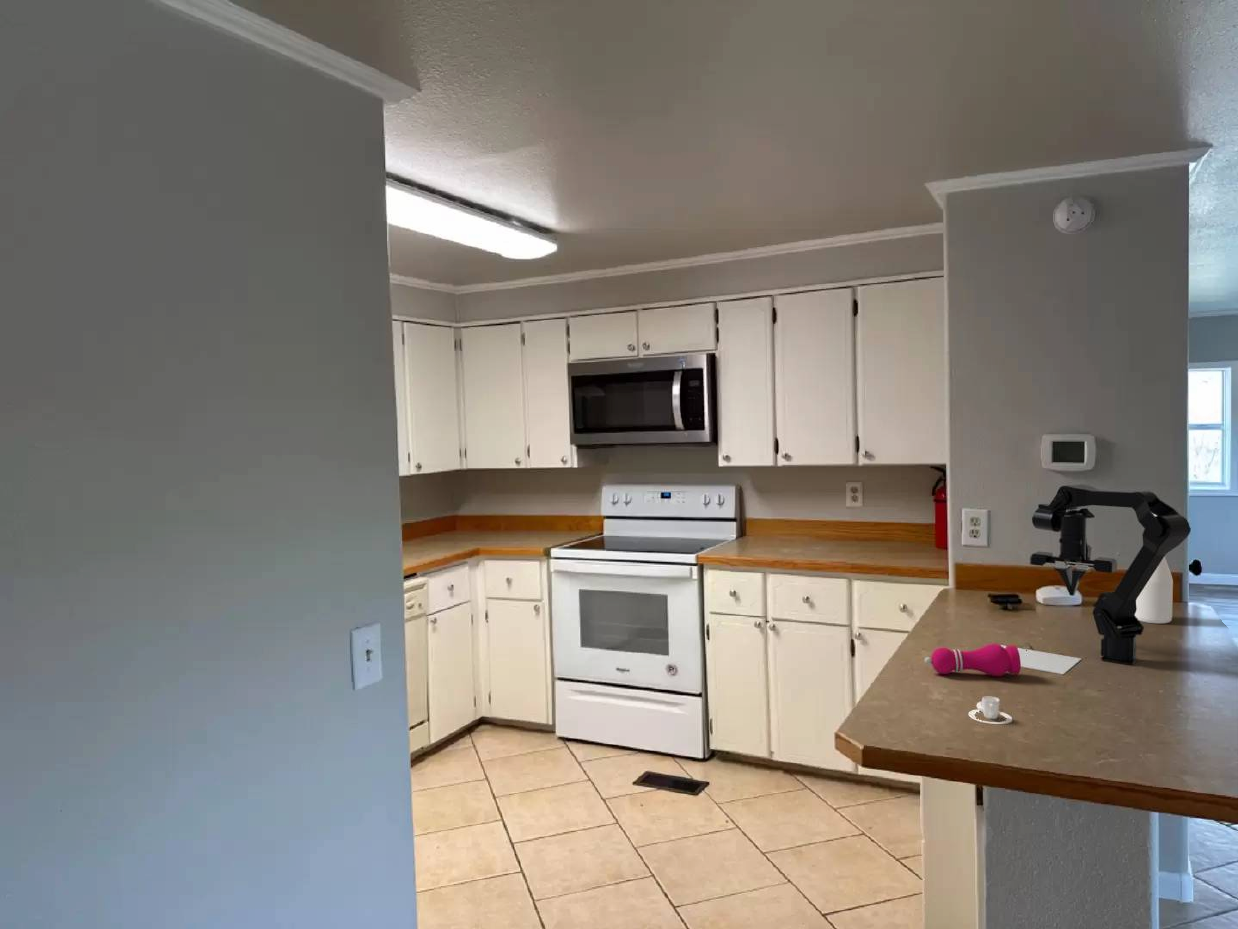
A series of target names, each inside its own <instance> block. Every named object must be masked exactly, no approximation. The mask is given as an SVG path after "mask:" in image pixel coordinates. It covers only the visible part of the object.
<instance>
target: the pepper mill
mask: <svg viewBox="0 0 1238 929" xmlns="http://www.w3.org/2000/svg"><path fill="white" fill-rule="evenodd" d="M1001 645H1002V644H998V643H990V644H987V645H985V646H981V647H980V648H978V649H974V650H967V651H964V650H960V649H959V648H958V649H952V650H950V649H949V648H948V647H942V646H941V647H938V648H935V649H934V650H933V652H932V653H931V657H930V656H927V657H925V658H924V663H925V664H926V665H927V666H928V665H929V666H930V665H932V667H933V670H934V671H936V672H937V673H938V674H941V675H948V674H951V673H952V672H953V671H954V672H956V673H957V672H962V671H964V670H973V671H978V672H980V673H984V674H985V675H990V676H993V677H1002V676H1004V675H1005V674H1006V673H1007V672H1008V673H1009V674H1010V675H1015V674H1016V675H1017V674H1018V675H1019V674H1020V672H1021V668H1022V667H1021V662H1020V655H1019V651H1018V649H1017V648H1018V647H1017V646H1016V645H1005V646H1006V648H1003V647H1002V646H1001Z"/></svg>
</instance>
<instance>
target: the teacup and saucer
mask: <svg viewBox="0 0 1238 929" xmlns="http://www.w3.org/2000/svg"><path fill="white" fill-rule="evenodd" d="M976 708H977V709H973V710H970V711H969V712H968V716H969V717H970V718H971V719H972V720H975V721H977V722H980V723H982V724H983V723H984V724H988V725H989V724H991V725H1006V724H1009V723H1011V722H1012V721H1013V717H1012V716H1011V715H1009V714H1007V713H1006V712H1003V711H1000V699H999V698H998V697H995V696H989V695H988V696H987V695H986V696H982V700H981V701H978V702H977V704H976ZM979 711H981V712H979ZM976 712H978V713H983V715H984V717H985V718H986V719H990V720H996V719H997V718H998V717H999V716H998V715H1001V716H1003V717H1005V720H1006V721H1005V720H1002V721H998V722H996V721H995V722H994V721H986V720H983V721H982V719H980V718H978V719H976V718H977V716H975V715H976V714H977V713H976ZM1006 718H1007V719H1006ZM979 719H980V720H979Z"/></svg>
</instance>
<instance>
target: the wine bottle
mask: <svg viewBox="0 0 1238 929" xmlns="http://www.w3.org/2000/svg"><path fill="white" fill-rule="evenodd" d="M1152 514H1153V515H1154V516H1157V515H1155V514H1154V513H1152ZM1171 572H1172V571H1171V570H1170V568H1169V564H1168V561H1167V559H1166V555H1165V556H1164V558H1163V559H1162V561H1161V562H1160V564H1159V565H1158V567H1157V569H1156V570H1155V572H1154V573H1153V575H1152V576H1151V578H1150V579H1149V581H1148V582H1147V584H1146V585H1145V587H1144V589H1143V590H1142V592H1141V593H1140V595H1139V596H1138V598H1137V600H1136V607H1137V610H1136V613H1135V616H1136V618H1137V619H1138V620H1139V622H1142V623H1147V624H1148V623H1149V624H1168V623H1171V622H1172V620H1173V598H1174V597H1173V592H1174V589H1173V588H1174V580H1173V576H1172V573H1171Z"/></svg>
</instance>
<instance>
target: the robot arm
mask: <svg viewBox="0 0 1238 929" xmlns="http://www.w3.org/2000/svg"><path fill="white" fill-rule="evenodd" d="M1093 506H1100V507H1116V508H1117V507H1118V508H1132V510H1134V513H1135V515H1136V518H1137V520H1138V523H1139V524H1140V525H1141V526H1142V527H1143V528H1144V530H1143V532H1142V546H1141V547H1140V549H1139V551H1138V552H1137V553H1136V555H1135V557H1134V559H1133V560H1132V562H1131V564H1130V565H1129V567H1128V568H1127V570H1126V572H1125V573H1124V575H1123V576H1122V578H1121V580H1120V581H1119V583H1118V584H1117V586H1116V587H1115V589H1114V591H1109V592H1101V593H1100V594H1099V596H1098V598H1097V600H1096V602H1095V603H1094V604H1092V607H1093V609H1092V616H1093V619H1094V623H1095V626H1096V629H1097V632H1098V633H1097V634H1098V635H1101V636H1102V638H1101V639H1100V656H1101V659H1100V660H1101V661H1106V662H1112V663H1118V664H1123V665H1130V666H1132V665H1134V664H1135V663H1136V662H1137V661H1138V659H1139V657H1138V656H1137V636H1141V635H1143V631H1144V629H1145V627H1144V625H1143V623H1141V621H1139V620H1138V619H1137V618H1136V616H1135V613H1136V610H1137V607H1136V600H1137V598H1138V596H1139V595H1140V593H1141V592H1142V590H1143V589H1144V587H1145V585H1146V584H1147V582H1148V581H1149V579H1150V578H1151V576H1152V575H1153V573H1154V572H1155V570H1156V569H1157V567H1158V565H1159V564H1160V562H1161V561H1162V559H1163V558H1164V556H1165V557H1166V555H1167V554H1168V553H1170V551H1172V550H1173V549H1175V548H1177V547H1178V546H1180V545H1181V543H1183V542H1184V541H1185V540H1186V539H1187V538H1188V537H1189V535H1190V533H1191V530H1192V528H1191V527H1190V523H1189V521H1188V520H1187V518H1186V517H1185V516H1183V515H1181V514H1180V513H1179V512H1178V511H1177V510H1176V509H1175V508H1174V507H1173V506H1170V505H1169V504H1167V503H1166V502H1164V501H1163V500H1161V499H1160V498H1159V497H1158V496H1157V494H1155V493H1154V492H1152V491H1150V490H1146V491H1145V490H1144V491H1143V490H1142V491H1141V490H1140V491H1135V490H1133V491H1131V490H1110V489H1099V488H1096V487H1094V486H1090V485H1087V484H1070V485H1069V484H1068V485H1061V486H1059V488H1058V489H1057V492H1056V495H1055V496H1054V497H1053V499H1052V500H1051V502H1050V503H1049V504H1048V503H1039V504H1038V505H1037V507H1038V508H1037V509H1036V510H1035V511H1034V513H1033V516H1032V517H1031V523H1032V525H1033V527H1034V528H1035V529H1037V530H1040V531H1041V530H1043V531H1049V532H1055V533H1059V532H1060V533H1059V534H1060V535H1059V536H1060V538H1058V539H1059V540H1058V542H1059V552H1060V553H1059V555H1058V556H1057V555H1056V556H1054V555H1053V552H1049V551H1048V552H1047V551H1040V550H1039V551H1036V552H1033V553H1032V554H1031V555H1030V558H1029V565H1032V566H1041V567H1042V566H1044V565H1046V564H1047V563H1048V564H1055V566H1054V569H1053V570H1054V571H1055V572H1056V571H1057V572H1058V574H1059V575H1060V577H1061V579H1062V581H1063V583H1064V585H1065V588H1066V589H1067V592H1068V595H1069V596H1075V595H1076V592H1077V590H1078V587H1079V585H1080V582H1081V580H1082V578H1083V576H1084V575H1086V574H1087V573H1089V572H1091V570H1092V568H1093V569H1094V570H1095V571H1096V572H1099V573H1108V574H1109V573H1111V574H1112V573H1114V572H1115V571H1117V570H1118V561H1117V559H1115V558H1112V557H1102V556H1098V557H1097V558H1095V559H1091V555H1092V547H1091V545H1089V544H1088V539H1087V519H1094V518H1095V515H1094V514H1093V512H1091V511H1090V510H1089V509H1088V507H1093ZM1079 508H1080V509H1079ZM1077 509H1079V510H1077ZM1153 514H1155V515H1157V516H1154V515H1153ZM1073 567H1074V568H1073ZM1119 627H1120V628H1119Z"/></svg>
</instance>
